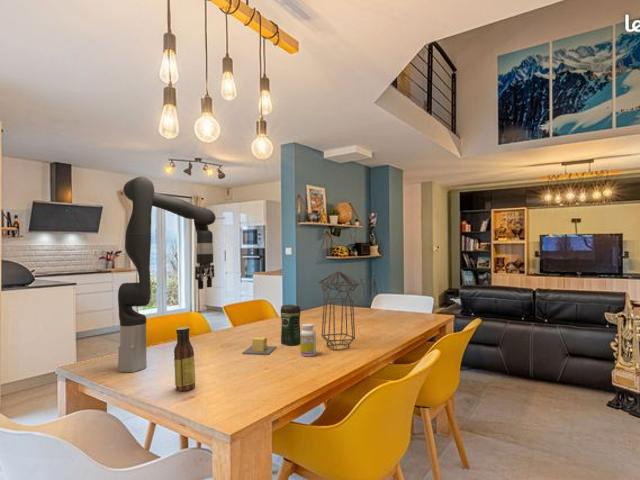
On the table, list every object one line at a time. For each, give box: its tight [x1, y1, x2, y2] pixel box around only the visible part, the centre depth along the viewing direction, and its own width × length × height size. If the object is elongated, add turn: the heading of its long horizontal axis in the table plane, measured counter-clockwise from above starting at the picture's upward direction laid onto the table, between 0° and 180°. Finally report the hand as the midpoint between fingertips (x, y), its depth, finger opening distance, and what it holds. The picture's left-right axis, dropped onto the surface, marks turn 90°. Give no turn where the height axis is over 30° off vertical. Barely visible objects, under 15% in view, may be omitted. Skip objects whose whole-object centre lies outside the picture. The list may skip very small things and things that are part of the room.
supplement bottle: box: [299, 323, 317, 358], centre depth 160 cm, size 7×7×13 cm
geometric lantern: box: [317, 270, 360, 351], centre depth 172 cm, size 16×16×35 cm
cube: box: [252, 336, 268, 351], centre depth 167 cm, size 5×5×5 cm
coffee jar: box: [280, 304, 302, 346], centre depth 180 cm, size 10×8×19 cm
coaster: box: [241, 345, 277, 356], centre depth 167 cm, size 12×12×1 cm
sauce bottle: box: [173, 326, 196, 392], centre depth 123 cm, size 7×6×20 cm
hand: (205, 288), depth 172 cm, fingers open, 8 cm apart
